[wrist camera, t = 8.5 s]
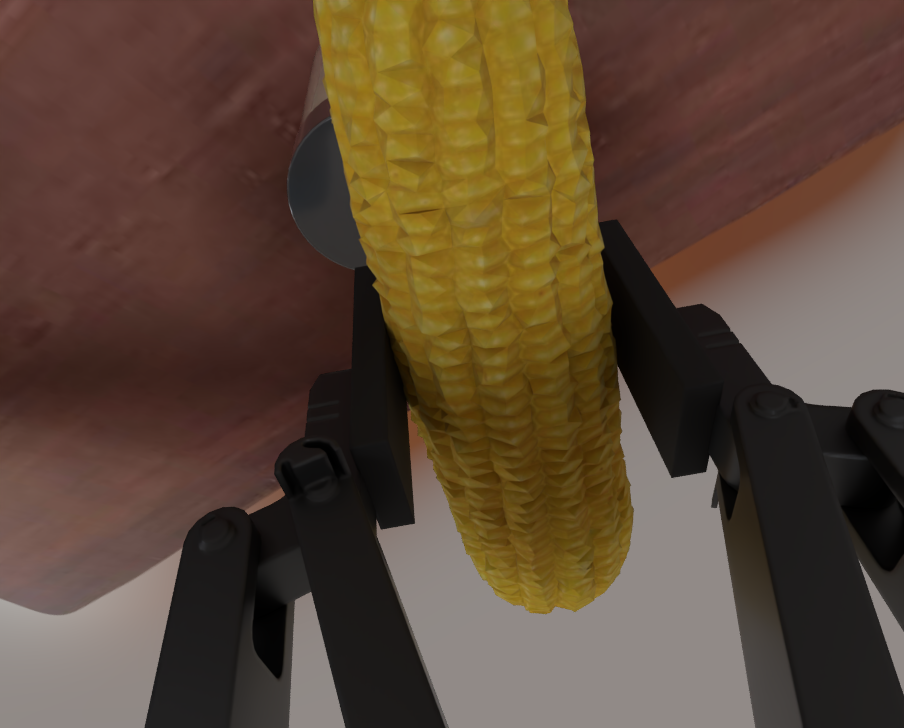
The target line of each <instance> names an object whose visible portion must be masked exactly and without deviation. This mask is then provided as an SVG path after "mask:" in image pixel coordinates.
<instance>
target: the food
mask: <svg viewBox="0 0 904 728" xmlns="http://www.w3.org/2000/svg"><path fill="white" fill-rule="evenodd" d="M313 8H314V18H315V22H316V27H317V32H318V36H319V41H320V46H321V52H322V59H323V66H324V73H325V76H324V78H323V80H322V81H323V84H324V87H325V91H326V94H327V97H328V100H329V103H330V106H331V108H330V115H331V118H332V123H333V126H334V130H335V134H336V137H337V141H338V145H339V149H340V152H341V156H342V160H343V167H344V174H345V178H346V182H347V186H348V190H349V193H350V207H351V211H352V215H353V218H354V219H355V221H356V225H357V228H358V231H359V234H360V237H361V238H360V239H359V241H360V243H361V245H362V247H363V249H364V252H365V254H366V256H367V259H366V264H367V266H368V267H369V268H370V270H371V271H372V273H373V274H374V275H375V277H376V278H377V279H376V280H375V282H374V283H373V287H374V288H375V289H376V290H377V291H378V293H379V296H380V301H381V307H382V313H383V317H384V321H385V325H386V329H387V332H388V335H389V339H390V345H391V348H392V350H393V353H394V359H395V361H396V364H397V366H398V369H399V372H400V375H401V378H402V382H403V385H404V387H403V390H404V394H405V396H406V399H407V402H408V404H409V407H410V409H411V420H412V421H413V422H414V423H416V424H417V425H418V436H420V437H423V439H424V441H425V444H426V447H427V458H428V459H431V460H433V470H434V471H435V473H436V474H437V477H436V478H437V479H438V481H439V482H440V483H441V485H442V488H443V491H444V493H445V495H446V497H447V500H448V503H449V506H450V509H451V512H452V515H453V517H454V520H455V523H456V527H457V531H458V532H460V533H461V536H462V541H463V543H464V546H465V550H466V554H468V555H470V556H471V559H472V561H473V563H474V565H475V567H476V569H477V571H478V572H479V574H480V576H481V578H482V579H483V580H487V581H488V584H489V585H490V586H491V587H492V588H493V590H494V592H495V594H496V595H497V596H499V597H500V598H502V599H504V600H506V601H507V602H509V603H511V604H513V605H522V606H525V609H526V610H529V612H530V613H541V614H547V613H550V612H551V611H552V610H553V608H554V607H555V606H556V607H560V608H565V609H569V610H572V611H574V612H576V611H577V610H579V609H581V608H582V607H584V606H586V605H587V604H589V603H591V602H592V601H594V599H595V598H596V597H598V596H600V595H601V594H603V593H604V592H605V591H606V590H607V589H608V588H609V586H610V585H611V584H612V583H613V582H614V580H615V578H616V577H617V576H618V575H619V574H620V569H621V567H622V565H623V563H624V561H625V559H626V556H627V553H628V551H629V547H630V538H631V533H632V525H633V512H634V509H633V507H632V506H631V495H630V486H631V485H630V482H629V481H628V478H627V476H626V465H625V461H624V459H623V458H624V454H623V451H622V447H621V444H620V434H621V433H622V429H621V411H620V409H619V401H620V400H621V398H620V391H619V383H618V370H617V351H616V339H615V338H614V336H613V333H612V328H611V327H612V323H611V308H612V304H613V302H612V299H611V296H610V293H609V290H608V287H607V283H606V279H605V275H604V271H603V260H602V256H601V251H602V250H603V249H604V248H605V247H604V243H603V239H602V235H601V231H600V227H599V223H598V211H597V199H596V190H595V181H594V167H593V163H594V157H593V153H592V148H591V144H590V130H589V126H588V122H587V118H586V114H585V107H586V95H585V86H584V77H583V68H582V63H581V58H580V54H579V49H578V45H577V40H576V36H575V32H574V29H573V21H572V19H571V16H570V13H569V10H568V0H313Z"/></svg>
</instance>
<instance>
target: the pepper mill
mask: <svg viewBox="0 0 904 728" xmlns="http://www.w3.org/2000/svg"><path fill="white" fill-rule="evenodd" d="M324 76H325V73H324V66H323V59H322V52H321V46H320V45H319V47H318V49H317V51H316V53H315V56H314V60H313V64H312V69H311V74H310V79H309V84H308V89H307V94H306V99H305V105H304V110H303V115H302V120H301V125H300V129H299V131H298V134H297V136H296V139H295V142H294V146H293V150H292V155H291V160H290V164H289V169H288V176H287V197H288V204H289V207H290V211H291V214H292V216H293V219H294V221H295V223H296V225H297V227H298V228H299V230H300V232H301V233H302V235H303V236H304V237H305V238H306V240H307V241H308V242H309V243H310V244H311V245H312V246H313V247H314V248H315V249H316V250H317V251H318V252H320V253H321V254H322V255H324V256H325V257H326V258H328V259H330V260H331V261H333V262H335V263H337V264H339V265H341V266H344V267H346V268H349V269H353V270H355V268H356V267H362V266H367V264H366V259H367V256H366V254H365V252H364V249H363V247H362V245H361V243H360V241H359V239H360V238H361V237H360V234H359V231H358V228H357V225H356V221H355V219H354V218H353V215H352V211H351V207H350V193H349V190H348V186H347V182H346V178H345V174H344V167H343V160H342V156H341V152H340V149H339V145H338V141H337V137H336V134H335V130H334V126H333V123H332V118H331V115H330V108H331V106H330V103H329V100H328V97H327V94H326V91H325V87H324V84H323V81H322V80H323V78H324Z"/></svg>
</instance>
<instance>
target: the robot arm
mask: <svg viewBox="0 0 904 728" xmlns="http://www.w3.org/2000/svg"><path fill="white" fill-rule="evenodd" d="M599 227H600V231H601V235H602V239H603V243H604V247H605V248H604V249H603V250H602V251H601V256H602V260H603V271H604V275H605V279H606V283H607V287H608V290H609V293H610V296H611V299H612V302H613V304H612V308H611V323H612V327H611V328H612V333H613V336H614V338H615V339H616V351H617V365H618V367H619V369H620V371H621V373H622V375H623V377H624V379H625V382H626V384H627V386H628V388H629V390H630V392H631V394H632V396H633V398H634V400H635V402H636V405H637V407H638V409H639V411H640V413H641V415H642V417H643V419H644V421H645V423H646V425H647V428H648V430H649V432H650V434H651V436H652V438H653V440H654V442H655V444H656V446H657V448H658V451H659V452H660V455H661V457H662V459H663V461H664V463H665V465H666V467H667V469H668V471H669V473H670V475H671V478H674V477H680V476H686V475H691V474H697V473H703V472H706V470H707V465H708V459H709V455H710V456H711V458H712V460H713V461H714V463H715V465H716V467H717V469H718V475H717V480H716V484H715V489H714V493H713V498H712V505H711V507H712V508H717V504H718V501H719V507H720V514H721V520H722V525H723V532H724V538H725V544H726V550H727V556H728V562H729V569H730V575H731V580H732V587H733V593H734V599H735V605H736V611H737V618H738V624H739V630H740V636H741V642H742V648H743V655H744V660H745V667H746V673H747V679H748V685H749V691H750V697H751V704H752V709H753V716H754V722H755V728H904V694H903V691H902V689H901V686H900V683H899V680H898V677H897V674H896V671H895V668H894V665H893V662H892V659H891V656H890V653H889V650H888V647H887V644H886V641H885V638H884V635H883V632H882V629H881V626H880V623H879V620H878V617H877V614H876V611H875V608H874V605H873V602H872V599H871V596H870V593H869V590H868V587H867V584H866V581H865V578H864V575H863V572H862V569H861V566H860V563H859V561H860V562H861V564H862V566H863V567H864V569H865V570H866V572H867V573H868V575H869V577H870V578H871V580H872V582H873V583H874V584H875V586H876V588H877V589H878V591H879V593H880V594H881V596H882V597H883V599H884V601H885V602H886V604H887V605H888V607H889V608H890V610H891V612H892V613H893V615H894V617H895V618H896V620H897V621H898V623H899V625H900V626H901V628H902V629H903V631H904V393H902V392H897V391H893V390H871V391H868V392H865V393H862V394H861V395H860V396H858V397H857V398H856V399H855V401H854V403H853V406H852V407H839V406H823V405H813V404H807V403H804V401H803V400H802V398H800V397H799V396H798V395H797V394H795V393H794V392H793V391H791V390H789V389H786V388H784V387H781V386H779V385H773V384H771V383H770V381H769V380H768V379H767V377H766V376H765V375H764V373H763V372H762V371H761V369H760V368H759V367H758V365H757V364H756V362H755V361H754V360H753V358H752V357H751V356H750V355H749V353H748V352H747V350H746V349H745V348H744V347H743V345H742V344H741V343H739V340H738V338H737V337H736V336H735V334H734V333H733V332H731V331H730V328H729V326H728V325H727V324H726V322H725V321H724V320H723V318H722V317H721V316H720V315H719V314H718V313H716V312H714V311H713V310H711V309H710V308H708V307H706V306H705V305H703V304H697V305H692V306H686V307H681V308H676V307H675V306H674V305H673V303H672V302H671V300H670V298H669V297H668V295H667V294H666V292H665V291H664V289H663V288H662V286H661V285H660V284H659V282H658V280H657V279H656V277H655V276H654V274H653V273H652V271H651V270H650V268H649V267H648V265H647V264H646V262H645V261H644V259H643V258H642V256H641V255H640V253H639V252H638V250H637V249H636V247H635V246H634V244H633V243H632V241H631V240H630V238H629V237H628V235H627V234H626V232H625V231H624V229H623V228H622V226H621V225H620V223H619V222H618V220H617V219H616V220H611V221H605V222H600V223H599ZM376 279H377V278H376V277H375V275H374V274H373V273H372V271H371V270H370V268H369V267H368V266H362V267H356V268H355V279H354V311H353V342H352V369H347V370H342V371H336V372H331V373H325V374H320V375H319V376H318V378H317V380H316V381H315V383H314V384H313V386H312V388H311V389H310V393H309V402H308V411H307V423H306V430H305V437H304V438H300V439H299V440H297V441H295V442H293V443H291V444H290V445H288V446H287V447H286V448H285V449H284V450H283V451H282V452H281V453H280V455H279V457H278V459H277V461H276V463H275V472H274V474H275V476H276V478H277V480H278V482H279V484H280V486H281V487H282V489H283V491H284V493H285V496H284V497H282V498H281V499H280V500H278V501H276V502H274V503H273V504H271V505H269V506H267V507H264V508H262V509H260V510H258V511H256V512H254V513H251V514H249V515H248V514H247V513H246V512H245V511H244V510H242V509H239V508H236V507H222V508H220V509H217V510H214V511H212V512H209V513H208V514H206V515H205V516H204V517H202V518H201V519H199V520H198V521H197V522H196V523H195V524H194V526H193V527H192V528H191V529H190V530H189V532H188V534H187V537H186V539H185V541H184V544H183V549H182V554H181V559H180V564H179V568H178V573H177V578H176V582H175V587H174V592H173V596H172V601H171V606H170V610H169V615H168V620H167V625H166V630H165V634H164V639H163V643H162V648H161V653H160V658H159V662H158V667H157V672H156V676H155V681H154V686H153V691H152V695H151V700H150V704H149V709H148V714H147V719H146V724H145V728H289V709H290V689H291V668H292V647H293V624H294V604H295V600H296V599H297V598H300V597H301V596H303V595H305V594H307V593H309V592H312V596H313V600H314V604H315V608H316V611H317V616H318V620H319V624H320V628H321V632H322V636H323V640H324V644H325V647H326V652H327V656H328V660H329V664H330V668H331V671H332V675H333V680H334V684H335V688H336V692H337V695H338V699H339V703H340V707H341V712H342V715H343V719H344V723H345V727H346V728H449V727H448V724H447V722H446V719H445V716H444V714H443V711H442V708H441V706H440V703H439V700H438V698H437V695H436V692H435V690H434V687H433V684H432V682H431V679H430V676H429V674H428V671H427V668H426V666H425V663H424V660H423V658H422V655H421V653H420V650H419V647H418V644H417V642H416V639H415V636H414V634H413V631H412V628H411V626H410V623H409V620H408V617H407V615H406V612H405V609H404V607H403V604H402V602H401V599H400V596H399V594H398V591H397V588H396V586H395V583H394V580H393V578H392V575H391V572H390V570H389V567H388V564H387V562H386V559H385V556H384V554H383V551H382V548H381V546H380V543H379V541H378V538H377V530H376V529H377V528H376V518H377V521H378V523H379V526H380V528H381V529H387V528H392V527H398V526H403V525H409V524H415V518H414V504H413V491H412V476H411V461H410V446H409V431H408V417H407V402H406V396H405V394H404V390H403V387H404V385H403V382H402V378H401V375H400V372H399V369H398V366H397V364H396V361H395V359H394V353H393V350H392V348H391V345H390V339H389V335H388V332H387V329H386V325H385V321H384V317H383V313H382V307H381V301H380V296H379V293H378V291H377V290H376V289H375V288H374V287H373V283H374V282H375V280H376ZM858 559H859V560H858Z"/></svg>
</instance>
